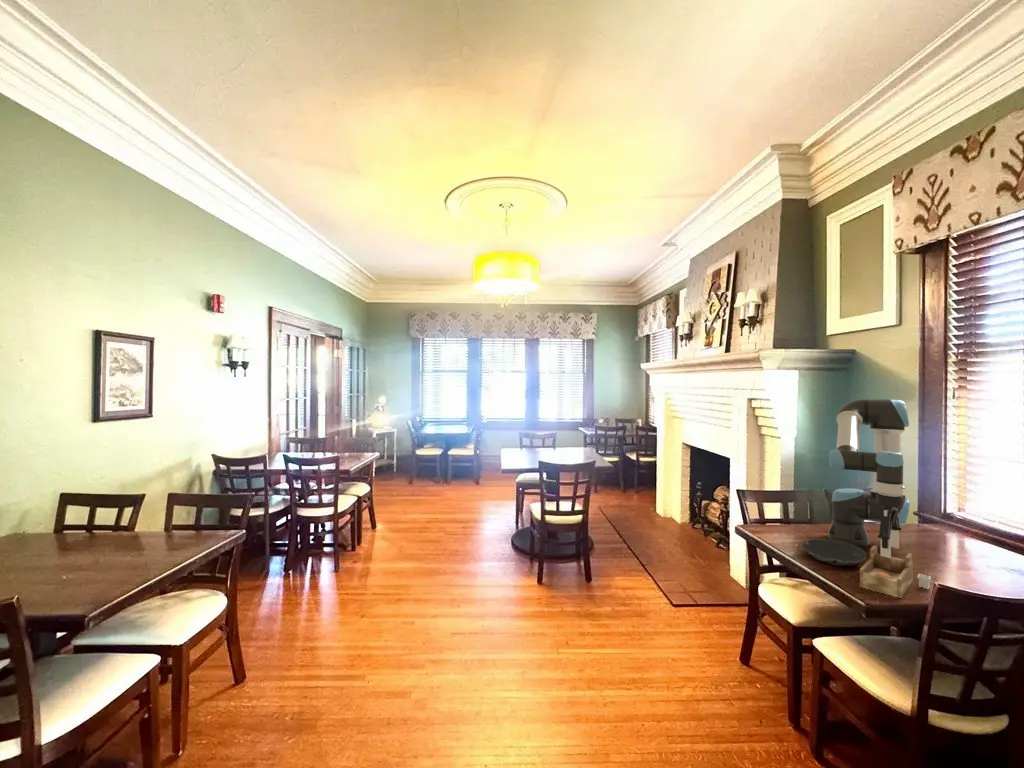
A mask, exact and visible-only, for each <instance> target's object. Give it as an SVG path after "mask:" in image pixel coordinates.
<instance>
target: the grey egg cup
mask: <svg viewBox="0 0 1024 768" xmlns="http://www.w3.org/2000/svg"><path fill="white" fill-rule="evenodd" d="M916 578H917V579H918V588H921V587H923V588H922V589H925V588H926V590H929V589H930V582H931V581H932V576H931V575H930V576H929V575H925V574H923V573H918V574H917V576H916Z"/></svg>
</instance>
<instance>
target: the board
mask: <svg viewBox="0 0 1024 768" xmlns="http://www.w3.org/2000/svg"><path fill="white" fill-rule="evenodd" d="M805 542H806V543H804V542H802V543H801V547H802V549H803V550H804V551H805V552H806V553H808V554H809V555H810V556H811V555H812V556H811V557H813V558H814V559H816V560H818V561H820V562H822V561H823V563H825V562H826V563H825V564H828V563H829V565H831V564H832V566H834V565H835V566H834V567H846V566H849V567H852V566H856V565H857V564H859V563H861V562H862V561H864V560H865V559H866V558H867V554H866V552H865V551H864V549H862V548H861V547H860V546H855V545H852V544H849V543H847V542H841V541H838V540H831V539H829V538H827V539H824V540H822V539H821V538H819V539H818V538H817V539H816V538H811V539H808V540H806V541H805Z"/></svg>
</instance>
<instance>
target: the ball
mask: <svg viewBox="0 0 1024 768" xmlns="http://www.w3.org/2000/svg"><path fill="white" fill-rule="evenodd" d="M875 575H877V576H881V577H885V578H888V579H892V578H891V577H890V576H889V575H888V574H886V573H883V572H879V573H877V574H875Z"/></svg>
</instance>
